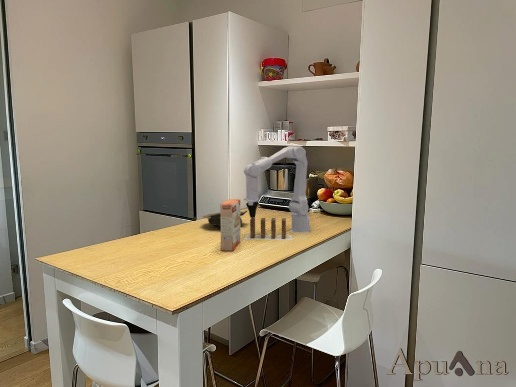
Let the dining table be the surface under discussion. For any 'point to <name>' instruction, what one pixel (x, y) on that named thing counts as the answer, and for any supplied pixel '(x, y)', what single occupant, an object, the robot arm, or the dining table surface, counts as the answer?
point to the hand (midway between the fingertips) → (252, 217)
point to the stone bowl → (219, 218)
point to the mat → (268, 237)
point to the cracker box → (230, 224)
